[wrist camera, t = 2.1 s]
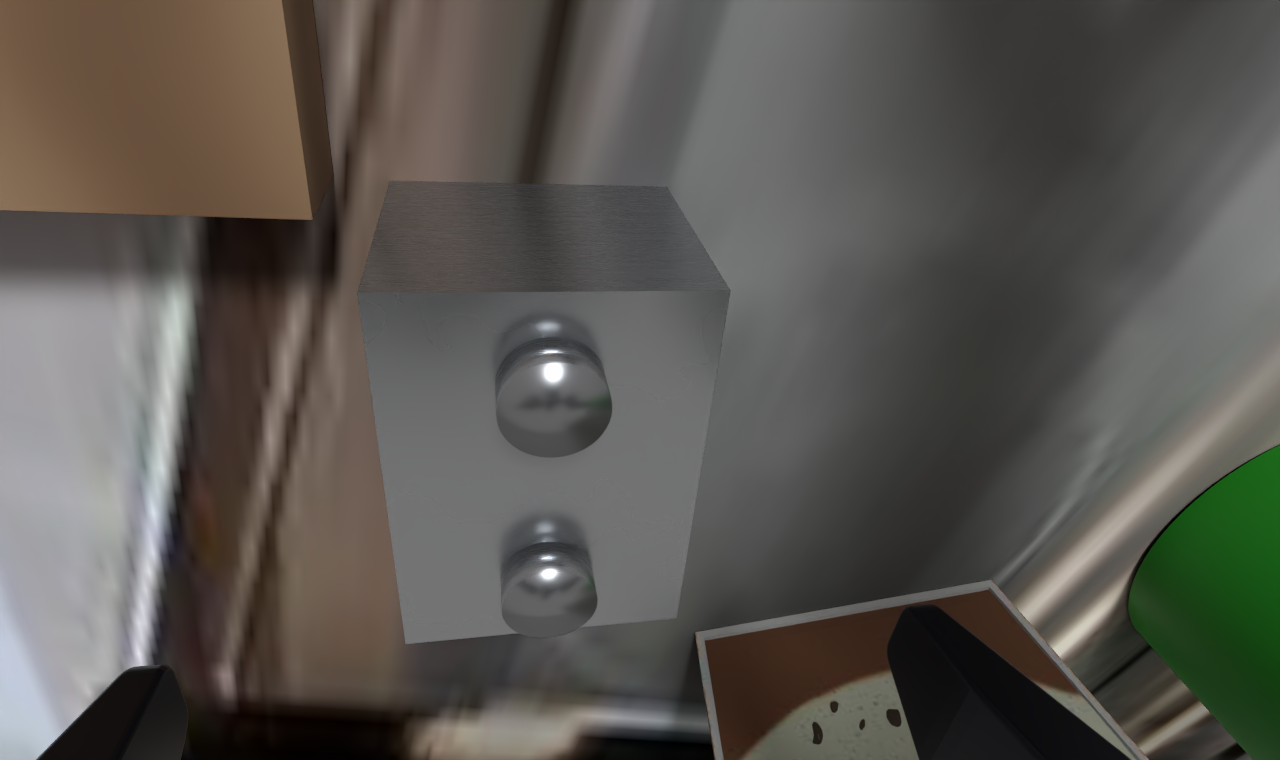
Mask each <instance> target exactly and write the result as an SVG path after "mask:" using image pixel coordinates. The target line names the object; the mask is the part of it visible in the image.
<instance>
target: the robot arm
mask: <svg viewBox="0 0 1280 760" xmlns="http://www.w3.org/2000/svg"><path fill="white" fill-rule="evenodd" d="M887 658H888V663H889V666H890V669H891V672H892V676H893V679H894V682H895V685H896V688H897V691H898V695H899V698H900V701H901V704H902V707H903V711H904V714H905V717H906V720H907V723H908V726H909V730H910V733H911V736H912V739H913V742H914V746H915V749H916V752H917V755H918V758H919V760H1131V759H1130V758H1129V757H1128V756H1126V755H1125V754H1124V753H1123V752H1121V751H1120V750H1119V749H1118V748H1116V747H1115V746H1114V745H1112V744H1111V743H1110V742H1109V741H1107V740H1106V739H1105V738H1104V737H1102V736H1101V735H1100V734H1099V733H1097V732H1096V731H1095V730H1094V729H1092V728H1091V727H1090V726H1088V725H1087V724H1086V723H1085V722H1083V721H1082V720H1081V719H1080V718H1078V717H1077V716H1076V715H1075V714H1073V713H1072V712H1071V711H1070V710H1068V709H1067V708H1066V707H1065V706H1063V705H1062V704H1061V703H1059V702H1058V701H1057V700H1056V699H1054V698H1053V697H1052V696H1051V695H1049V694H1048V693H1047V692H1046V691H1044V690H1043V689H1042V688H1041V687H1039V686H1038V685H1037V684H1036V683H1034V682H1033V681H1032V680H1030V679H1029V678H1028V677H1027V676H1025V675H1024V674H1023V673H1022V672H1020V671H1019V670H1018V669H1017V668H1015V667H1014V666H1013V665H1012V664H1010V663H1009V662H1008V661H1007V660H1005V659H1004V658H1003V657H1001V656H1000V655H999V654H998V653H996V652H995V651H994V650H993V649H991V648H990V647H989V646H988V645H986V644H985V643H984V642H983V641H981V640H980V639H979V638H978V637H976V636H975V635H974V634H972V633H971V632H970V631H969V630H967V629H966V628H965V627H964V626H962V625H961V624H960V623H959V622H957V621H956V620H955V619H954V618H952V617H951V616H950V615H948V614H947V613H946V612H945V611H943V610H942V609H941V608H939V607H937V606H935V605H932V604H923V605H910V606H907V607H905V608H904V609H903V610H902V612H901V614H900V616H899V618H898V620H897V623H896V625H895V627H894V629H893V632H892V634H891V636H890V639H889V641H888V644H887ZM187 726H188V708H187V705H186V702H185V699H184V697H183V694H182V691H181V689H180V686H179V683H178V681H177V678H176V675H175V673H174V671H173V669H172V668H171V667H170V666H168V665H151V666H138V667H133V668H130V669H128V670H126V671H124V672H123V673H122V674H121V675H119V676H118V677H117V678H116V679H115V680H114V681H113V682H112V683H111V684H110V685H109V686H108V687H107V689H106V690H105V691H104V692H103V693H102V694H101V695H100V696H99V697H98V698H97V699H96V700H95V701H94V702H93V703H92V704H91V705H90V706H89V707H88V708H87V709H86V710H85V711H84V712H83V713H82V714H81V715H80V716H79V717H78V718H77V719H76V720H75V721H74V722H73V723H72V724H71V725H70V726H69V727H68V728H67V729H66V730H65V731H64V732H63V733H62V734H61V735H60V736H59V737H58V738H57V739H56V740H55V741H54V742H53V743H52V744H51V745H50V746H49V747H48V748H47V749H46V750H45V751H44V752H43V753H42V754H41V755H40V756H39V757H38V758H37V759H36V760H181V755H182V751H183V746H184V741H185V736H186V732H187Z"/></svg>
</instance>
